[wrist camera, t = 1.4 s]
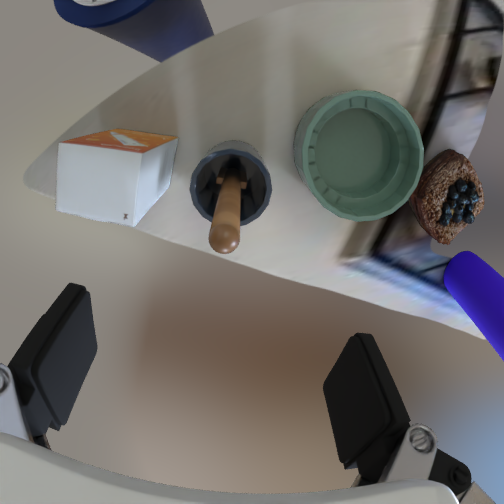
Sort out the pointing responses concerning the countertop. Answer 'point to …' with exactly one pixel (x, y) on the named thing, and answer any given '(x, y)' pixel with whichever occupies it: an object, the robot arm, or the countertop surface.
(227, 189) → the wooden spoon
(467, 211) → the pastry
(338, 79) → the countertop surface
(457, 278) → the bottle
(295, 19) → the countertop surface
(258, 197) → the crock
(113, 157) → the small box
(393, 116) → the bowl
